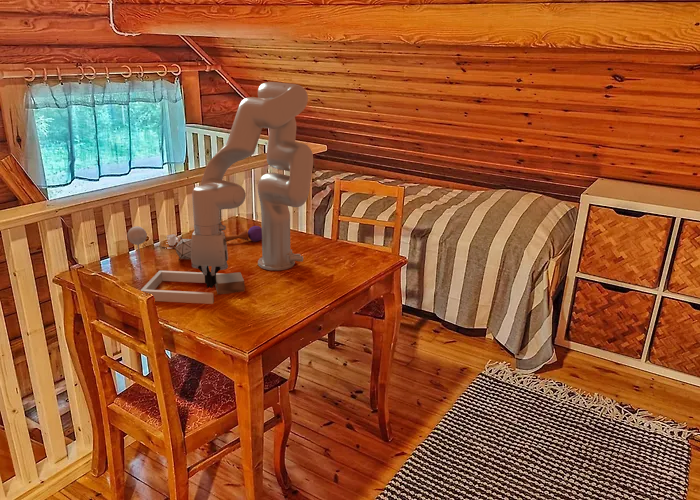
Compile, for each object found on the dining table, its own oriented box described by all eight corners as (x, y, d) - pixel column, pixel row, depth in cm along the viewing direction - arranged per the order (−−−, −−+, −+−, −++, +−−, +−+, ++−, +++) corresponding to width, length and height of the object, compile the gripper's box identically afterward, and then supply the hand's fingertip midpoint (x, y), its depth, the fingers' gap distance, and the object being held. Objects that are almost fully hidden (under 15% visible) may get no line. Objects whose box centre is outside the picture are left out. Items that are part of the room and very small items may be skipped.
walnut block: (240, 283, 180) (240, 272, 179) (244, 292, 174) (244, 280, 172) (215, 286, 177) (214, 274, 176) (218, 295, 171) (217, 283, 170)
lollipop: (127, 269, 186) (122, 226, 181) (144, 265, 190) (139, 222, 185) (137, 275, 182) (132, 231, 177) (153, 270, 187) (149, 227, 181)
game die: (188, 271, 196) (179, 256, 187) (173, 258, 199) (164, 242, 191) (208, 255, 199) (200, 239, 191) (193, 242, 202) (185, 226, 194)
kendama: (208, 232, 212) (260, 223, 219) (210, 248, 213) (262, 238, 220) (210, 234, 206) (264, 225, 213) (213, 250, 208) (266, 241, 214)
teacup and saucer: (171, 240, 215) (170, 230, 213) (189, 243, 212) (188, 233, 211) (155, 247, 207) (154, 237, 206) (173, 251, 204) (172, 240, 203)
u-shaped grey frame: (226, 282, 179) (225, 273, 178) (212, 303, 165) (212, 294, 164) (160, 279, 180) (159, 270, 179) (140, 300, 166) (139, 290, 165)
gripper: (236, 225, 168) (238, 282, 175) (186, 223, 169) (190, 279, 175) (229, 234, 161) (232, 292, 168) (177, 231, 162) (182, 289, 168)
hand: (210, 285), depth 171 cm, fingers closed
